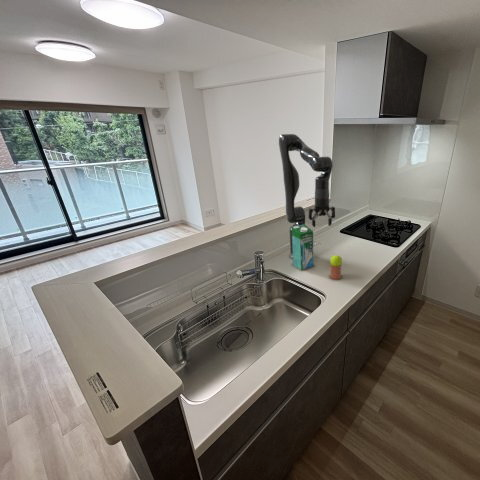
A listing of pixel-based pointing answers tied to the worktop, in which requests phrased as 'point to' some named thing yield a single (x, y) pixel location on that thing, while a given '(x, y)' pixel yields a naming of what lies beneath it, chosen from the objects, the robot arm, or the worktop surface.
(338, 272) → the cup
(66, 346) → the worktop surface
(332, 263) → the ball
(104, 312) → the worktop surface
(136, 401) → the worktop surface
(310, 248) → the milk carton
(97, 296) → the worktop surface
